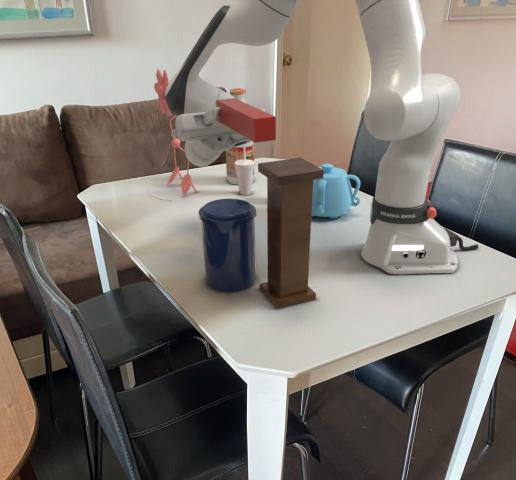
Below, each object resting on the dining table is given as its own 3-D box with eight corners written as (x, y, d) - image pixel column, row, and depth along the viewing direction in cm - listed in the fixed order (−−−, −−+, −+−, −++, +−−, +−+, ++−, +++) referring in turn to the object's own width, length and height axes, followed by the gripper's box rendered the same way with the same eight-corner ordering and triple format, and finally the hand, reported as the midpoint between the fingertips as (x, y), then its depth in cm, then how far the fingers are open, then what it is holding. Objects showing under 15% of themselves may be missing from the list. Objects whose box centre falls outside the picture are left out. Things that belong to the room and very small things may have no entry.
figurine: (179, 177, 175) (167, 62, 154) (209, 199, 156) (200, 72, 136) (136, 184, 169) (118, 66, 148) (162, 208, 150) (146, 77, 130)
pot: (261, 269, 118) (260, 198, 108) (252, 295, 108) (250, 219, 98) (211, 266, 119) (206, 195, 109) (198, 290, 110) (191, 216, 100)
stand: (259, 289, 110) (257, 163, 94) (296, 281, 113) (300, 157, 97) (277, 309, 103) (278, 176, 87) (315, 299, 106) (323, 169, 90)
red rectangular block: (217, 120, 106) (215, 99, 103) (235, 118, 107) (234, 98, 105) (254, 142, 91) (254, 119, 89) (275, 140, 92) (275, 116, 90)
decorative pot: (335, 199, 155) (338, 154, 147) (363, 217, 143) (368, 168, 135) (287, 207, 150) (288, 160, 142) (312, 226, 138) (314, 176, 130)
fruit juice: (232, 175, 176) (228, 86, 159) (257, 177, 173) (256, 87, 157) (223, 184, 168) (218, 91, 152) (250, 186, 166) (247, 92, 150)
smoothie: (256, 190, 163) (255, 145, 155) (254, 196, 158) (253, 150, 150) (236, 189, 163) (235, 144, 155) (234, 196, 158) (232, 150, 150)
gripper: (166, 123, 112) (178, 98, 99) (250, 114, 119) (272, 89, 106) (173, 152, 113) (185, 131, 100) (256, 141, 119) (278, 120, 106)
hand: (231, 109), depth 103 cm, fingers closed on red rectangular block, 4 cm apart
